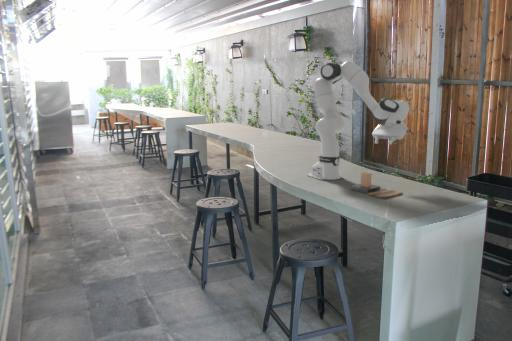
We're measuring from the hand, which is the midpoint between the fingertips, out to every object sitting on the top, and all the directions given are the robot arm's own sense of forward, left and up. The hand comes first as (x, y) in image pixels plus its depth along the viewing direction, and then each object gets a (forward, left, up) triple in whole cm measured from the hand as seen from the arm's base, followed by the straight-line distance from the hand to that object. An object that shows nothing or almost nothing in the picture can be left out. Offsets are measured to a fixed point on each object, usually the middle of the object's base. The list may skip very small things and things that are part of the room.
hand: (382, 143), depth 265 cm
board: (+13, -14, -25) cm, 32 cm away
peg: (0, -14, -25) cm, 29 cm away
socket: (0, -14, -25) cm, 29 cm away
